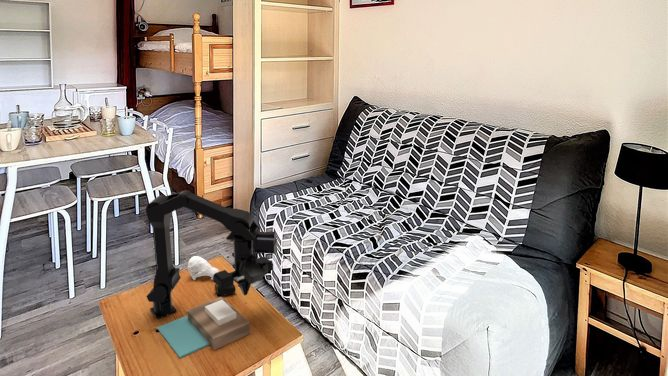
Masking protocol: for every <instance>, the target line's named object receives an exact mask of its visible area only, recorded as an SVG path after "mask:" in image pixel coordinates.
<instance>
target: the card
mask: <svg viewBox="0 0 668 376" xmlns="http://www.w3.org/2000/svg"><path fill="white" fill-rule="evenodd" d="M205 312H206V313H207V314H208V315H209V316H210V317H211V318H212V319H213V320H214V321H215V322H216V323H217V324H218V325H222V324H224V323H226V322H229V321H231V320H233V319H236V318H237V317H236V312H235V311H234V310H233V309H232V308H231V307H230V306H229V305H227V304H226V303H225V302H224V301H223V300H220V301H217V302H215V303H212V304H210V305H207V306H205Z"/></svg>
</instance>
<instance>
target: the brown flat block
mask: <svg viewBox="0 0 668 376" xmlns="http://www.w3.org/2000/svg"><path fill="white" fill-rule="evenodd" d="M220 300H223V301H224V302H225V303H226V304H227V305H229V306H230V307H231V308H232V309H233V310H234V311H235V312H236V317H237V318H236V319H233V320H231V321H229V322H226V323H224V324H222V325H218V324H217V323H216V322H215V321H214V320H213V319H212V318H211V317H210V316H209V315H208V314H207V313H206V312H205V306H207V305H210V304H212V303H215V302H217V301H220ZM186 313H187V315H188V320H189V321H190V322H191V323H192V324H193V325H194V327H195V328H196V329H197V330H198V331H199V332H200V333H201V334H202V335H203V337H204V338H205V339H206V340H207V341H208V342H209V343H210V345H209V346H210V347H211V348H212V349H213V350H214V351H216V350H218V349H220V348H222V347H225V346H227V345H229V344H231V343H233V342H235V341H237V340H240V339H242V338H244V337H245V336H249V335H250V334H251V322H250V321H249V320H248V319H247V318H245V317H244V315H242V314H241V313H240V312H239V311H238V310H237V309H236V308H235V307H234V306H232V305H231V303H229V302H228V301H227V299H225V298H223V297H222V296H219V297H217V298H215V299H212V300H209V301H207V302H204V303H202V304H199V305H197V306H193V307H191V308H189V309H187V310H186ZM187 315H186V316H187Z"/></svg>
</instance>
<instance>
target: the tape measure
mask: <svg viewBox="0 0 668 376" xmlns="http://www.w3.org/2000/svg"><path fill="white" fill-rule="evenodd" d="M214 291H215V292H216V294H217V295H219V296H228V295H230V294H231V295H232V294H235V293H236V286H235V284H234V283H233V284H232V285H231V286H229V287H226V288H221V287H219V286H218V285H217V284H216V283H215V285H214Z"/></svg>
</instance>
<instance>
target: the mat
mask: <svg viewBox="0 0 668 376" xmlns="http://www.w3.org/2000/svg"><path fill="white" fill-rule="evenodd" d="M156 328H157V330H158V331H159V333H160V334H161V336H162V337H163V338H164V339H165V341H166V342H167V344H168V345H169V346H170V347H171V349H172V350H173V351H174V353H175V354H176V355H177V357H178V358H179V359H182V358H184V357H186V356H188V355H191V354H193V353H195V352H198V351H199V350H202V349H204V348H206V347H209V346H210V343H209V342H208V341H207V340H206V339H205V338H204V337H203V335H202V334H201V333H200V332H199V331H198V330H197V329H196V328H195V327H194V325H193V324H192V323H191V322H190V321H189V320H188V315H185V316H183V317H180V318H177V319H175V320H173V321H170V322H167V323H165V324H161V325H160V326H157V327H156Z"/></svg>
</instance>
